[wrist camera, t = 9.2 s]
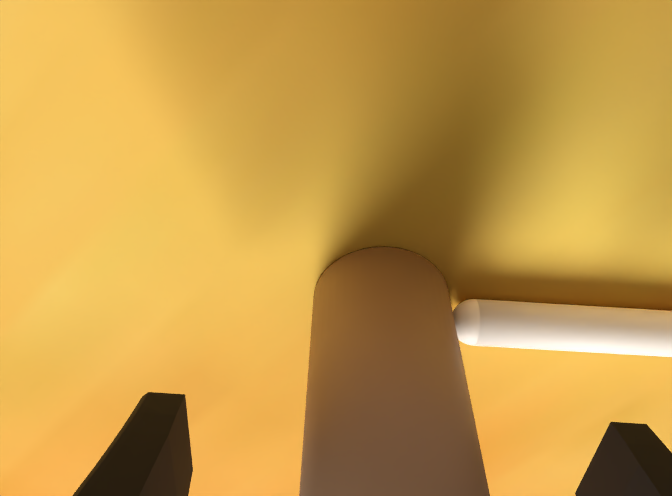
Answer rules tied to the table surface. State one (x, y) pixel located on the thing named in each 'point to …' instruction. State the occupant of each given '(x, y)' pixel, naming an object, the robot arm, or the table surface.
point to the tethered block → (424, 372)
